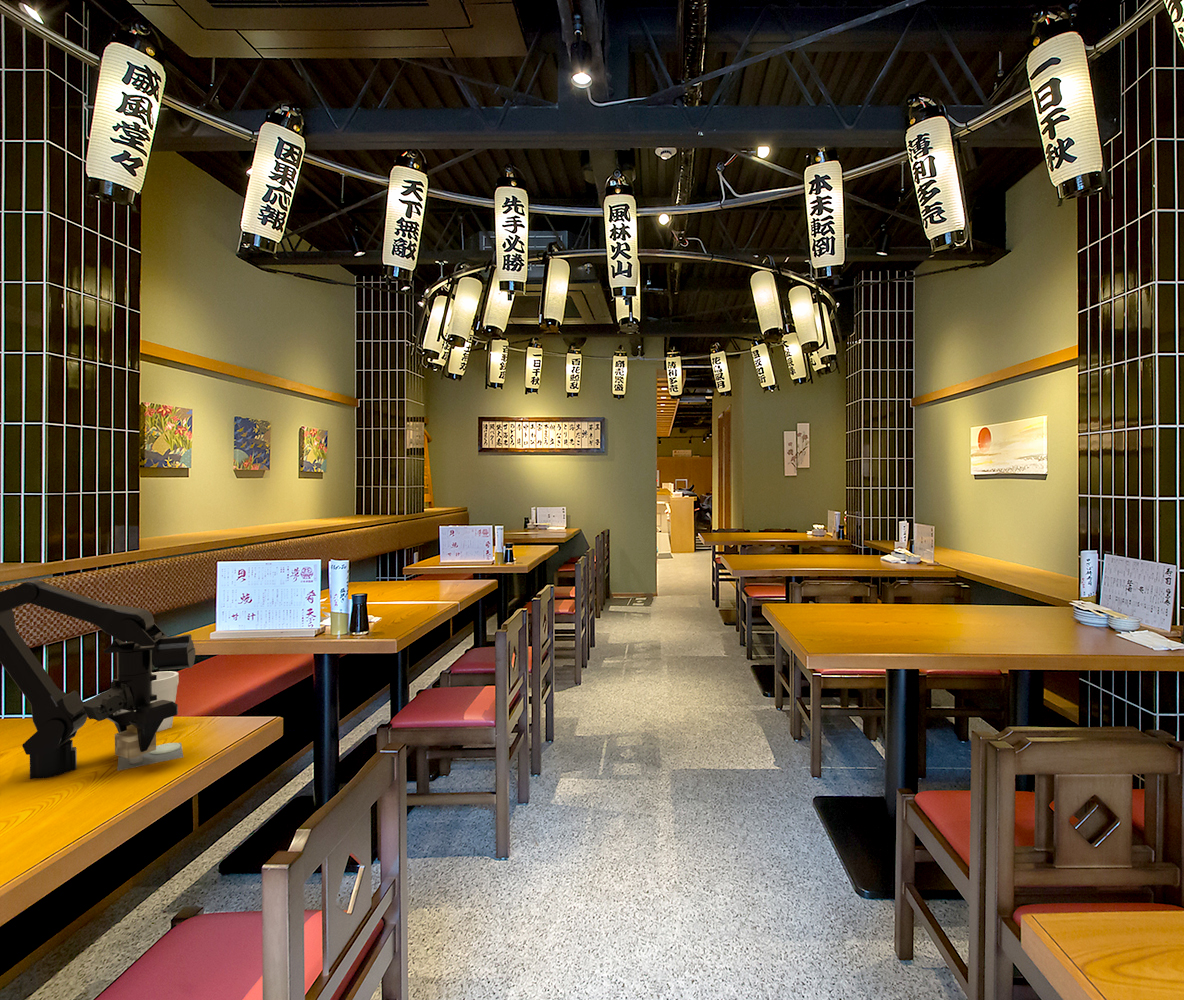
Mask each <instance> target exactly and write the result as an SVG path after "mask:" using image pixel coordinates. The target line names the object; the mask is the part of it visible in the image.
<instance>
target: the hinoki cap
mask: <svg viewBox="0 0 1184 1000" xmlns="http://www.w3.org/2000/svg"><path fill="white" fill-rule="evenodd" d="M156 746H157V733H156V734H155V736H154V738H153V740H152V741H151V743H150V745H149V747H148V749H147V751H144V752H141V751H140V747H139V741H138V734H137V728H136V727H135V726H134V725H129V726H127V730H126V731H123V732H120V733H118V732H117V733H115V734H114V756H118V757H119V756H121V757H125V758H129V759H131V758H134V757H137V756H140V755H142V754H145V753H148V752H151V751H154V750H156Z"/></svg>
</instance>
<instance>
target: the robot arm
mask: <svg viewBox="0 0 1184 1000" xmlns="http://www.w3.org/2000/svg"><path fill="white" fill-rule="evenodd" d="M26 604H27V605H28V604H31V605H34V606H37V607H41V608H43V609H46V610H50V611H52V612H56V613H59V614H61V615H65V616H67V617H68V616H69V617H71V618H74V619H78V620H80V621H83V622H86V623H90V624H92V625H94V626H96V627H98V629H100V630H101V631H102V632H104V633H105V634H107V635H109V636H111V637H112V638H115V639H114V640H113V641H112V642H111V643H110V645H109V646H108V647H107V648H105V649H104V650H103V652H104V654H115V653H116V677H117V678H113V679H112V680H111V682H110V688H109V689H107V690H104V691H102V692H100V693H99V694H97V695H95V696H93V697H92V698H90V699H88V700H87V701H85V702H84V701H83V700H82V699H81V697H80V694H79V692H78V691H77V690H76V689H75V690H72V691H71V692H70V693H67V692H65V691H63V690H61V689H59V688H58V686H57V685H56V684H55V681H53V679H52V677H50V675H49V674H48V672H47V671H46V669H45V667H44V666H43V665H42V664H41V662H40V661H39V660H38V658H37V657H36V656H35V654H34V653H33V651H32V650H31V648H30V647H29V646H28V645H27V643H26V642H25V640H24V639H23V637H22V635H20V633H19V632H18V630H17V628H16V620H15V613H14V610H13V609H16V608H18V607H22V606H23V605H26ZM195 660H196V647H195V645H194V641H193V640H192V634H183V635H177V636H173V635H172V636H167V634H166V633H165V632H164V631H163V630H162V629H161V628H160V626H158V625H157V624H156V623H155V618H154V616H153V613H152V612H150V611H149V610H148V609H145V608H141V607H133V606H129V605H117V604H109V603H105V602H102V601H100V600H97V599H94V598H90V597H87V596H84V595H83V594H82V595H81V594H79V593H77V592H76V593H75V592H72V591H70V590H66V589H63V588H60V587H57V586H54V585H51V584H49V583H47V582H45V581H43V580H39V579H36V580H30V581H25V582H22V583H20V584H19V585H17V586H13V587H11V588H10V587H9V588H7V589H5V590H1V591H0V665H2V667H3V668H4V669H5V671H6V672H7V674H8V675H9V676H10V678H11V679H12V681H14V683H15V684H16V686H17V687H18V689H19V690H20V692H21V694H23V695H24V697H25V698H26V700H27V701H28V703H29V704H30V708H31V717H32V719H31V720H32V722H33V725H34V727H35V730H36V731H35V732H34V734H32V735H31V736H30V737H29V738H28V739H26V740H25V742H24V743H23V744H22V749H23V750H24V751H23V752H24V753H25V755H27V756H28V755H29V780H34V779H35V780H36V779H37V780H40V779H49V778H53V777H57V776H61V775H63V774H66V773H70V772H72V771H76V770H77V766H78V764H77V763H78V762H77V761H78V760H77V758H78V757H77V755H78V754H77V746H73V744H74V743H73V739H74V738H75V737H76V735H77V733H78V730H80V729H81V728H82V727H84V725H85V723H86V722H87V719H88V720H95V721H97V722H101V721H104V720H109V721H111V722H113V723H114V726H115V728H116V730H117V733H120V732H123V731H126V730H127V726H129V725H134V726H135V727H136V728H137V734H138V741H139V747H140V751H141V752H144V751H147V749H148V747H149V745H150V743H151V741H152V740H153V738H154V736H155V734H156V735H157V730H158V728H159V726H160V725H161V723H162V721H163V720H164V719H166V718H169V717H172V716H173V717H175V716H178V714H179V705H178V704H177V703H176V702H175V703H174V702H173V701H167V700H160V701H156V702H153V703H150V702H151V701H154V700H157V695H154V694H152V681H154V680H157V675H153V674H152V673H153V671H152V668H153V667H152V666H154V668H155V669H156V668H157V670H159V671H168V670H169V671H170V670H178V669H179V670H181V669H191V668H193V667H194V665H195Z"/></svg>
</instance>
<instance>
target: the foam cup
mask: <svg viewBox="0 0 1184 1000" xmlns="http://www.w3.org/2000/svg"><path fill="white" fill-rule="evenodd" d="M152 674H153V675H157V680H154V681H152V694H154V695H157V700H154V701H151V702H150V703H153V702H156V701H160V700H167V701H173V702H174V703H176V698H177V692H178V685H179V684H180V682H179V681H180V680H179V679H180V678H179V676H180V674H179V672H178V671H172V670H171V671H170V670H169V671H168V670H163V671H156V672H152ZM173 723H174V716H172V717H169V718H166V719H164V720H163V721H162V723H161V725H160V726H159V728H158V730H157V732H162V731H164V730H167V729H171V728H172V727H173ZM157 732H156V733H157Z"/></svg>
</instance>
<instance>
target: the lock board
mask: <svg viewBox="0 0 1184 1000" xmlns="http://www.w3.org/2000/svg"><path fill="white" fill-rule="evenodd" d="M181 758H184V752H183V746H182V742H168V743H163V744H159V745H156V750H154V751H151V752H148V753H145V754H142V755H140V756H137V757H134V758H131V759H129V758H125V757H121V756H118V760H117V769H116V770H117V772H118V771H124V770H128V769H133V768H138V767H143V766H148V765H153V764H156V763H161V762H166V761H171V760H177V759H181Z"/></svg>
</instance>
